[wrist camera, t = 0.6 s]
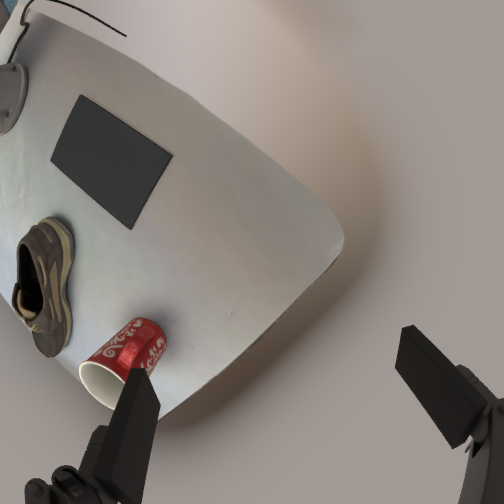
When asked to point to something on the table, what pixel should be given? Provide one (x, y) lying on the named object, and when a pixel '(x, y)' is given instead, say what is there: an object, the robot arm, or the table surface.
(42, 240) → the boat shoe
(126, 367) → the mug
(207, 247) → the table surface
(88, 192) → the mat
